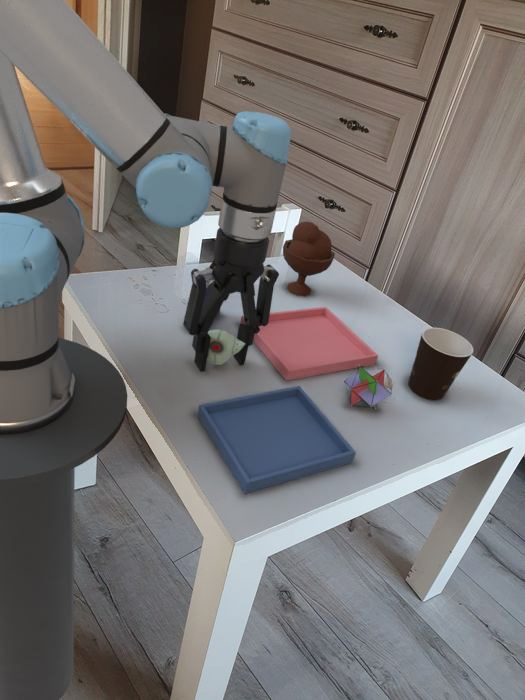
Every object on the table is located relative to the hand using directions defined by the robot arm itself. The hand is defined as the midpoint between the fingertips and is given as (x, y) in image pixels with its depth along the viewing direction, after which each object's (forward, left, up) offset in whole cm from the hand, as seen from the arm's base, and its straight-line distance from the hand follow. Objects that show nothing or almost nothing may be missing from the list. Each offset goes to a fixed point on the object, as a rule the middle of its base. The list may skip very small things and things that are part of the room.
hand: (219, 363), depth 90 cm
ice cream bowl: (+29, +21, -1) cm, 36 cm away
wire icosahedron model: (+19, -15, -1) cm, 24 cm away
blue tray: (0, -18, 0) cm, 18 cm away
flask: (+3, +13, -1) cm, 13 cm away
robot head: (-1, 0, -1) cm, 1 cm away
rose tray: (+19, +2, 0) cm, 19 cm away
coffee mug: (+35, -15, -1) cm, 38 cm away
